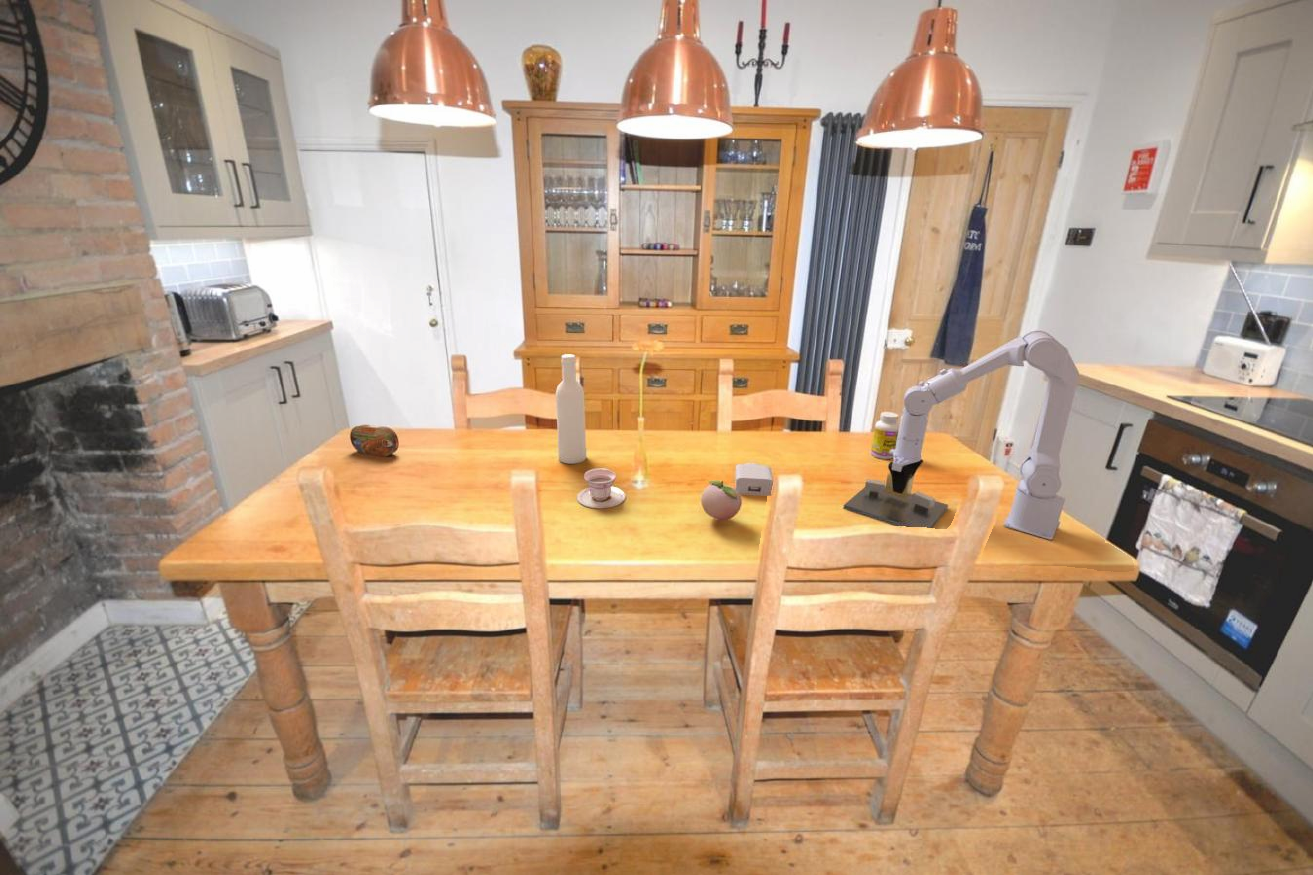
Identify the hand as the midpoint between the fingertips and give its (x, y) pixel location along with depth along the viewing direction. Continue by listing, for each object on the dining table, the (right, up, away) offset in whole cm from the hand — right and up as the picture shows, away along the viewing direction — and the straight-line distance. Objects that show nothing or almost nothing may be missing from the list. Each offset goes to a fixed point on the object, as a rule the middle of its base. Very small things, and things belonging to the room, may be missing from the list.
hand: (900, 488), depth 138 cm
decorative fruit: (-45, -7, -8) cm, 47 cm away
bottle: (-84, +6, +24) cm, 87 cm away
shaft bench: (-2, -5, -1) cm, 5 cm away
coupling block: (0, -1, +1) cm, 2 cm away
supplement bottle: (+7, +7, +30) cm, 32 cm away
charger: (-34, 0, +11) cm, 36 cm away
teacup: (-73, -3, +2) cm, 73 cm away
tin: (-141, +8, +26) cm, 143 cm away
